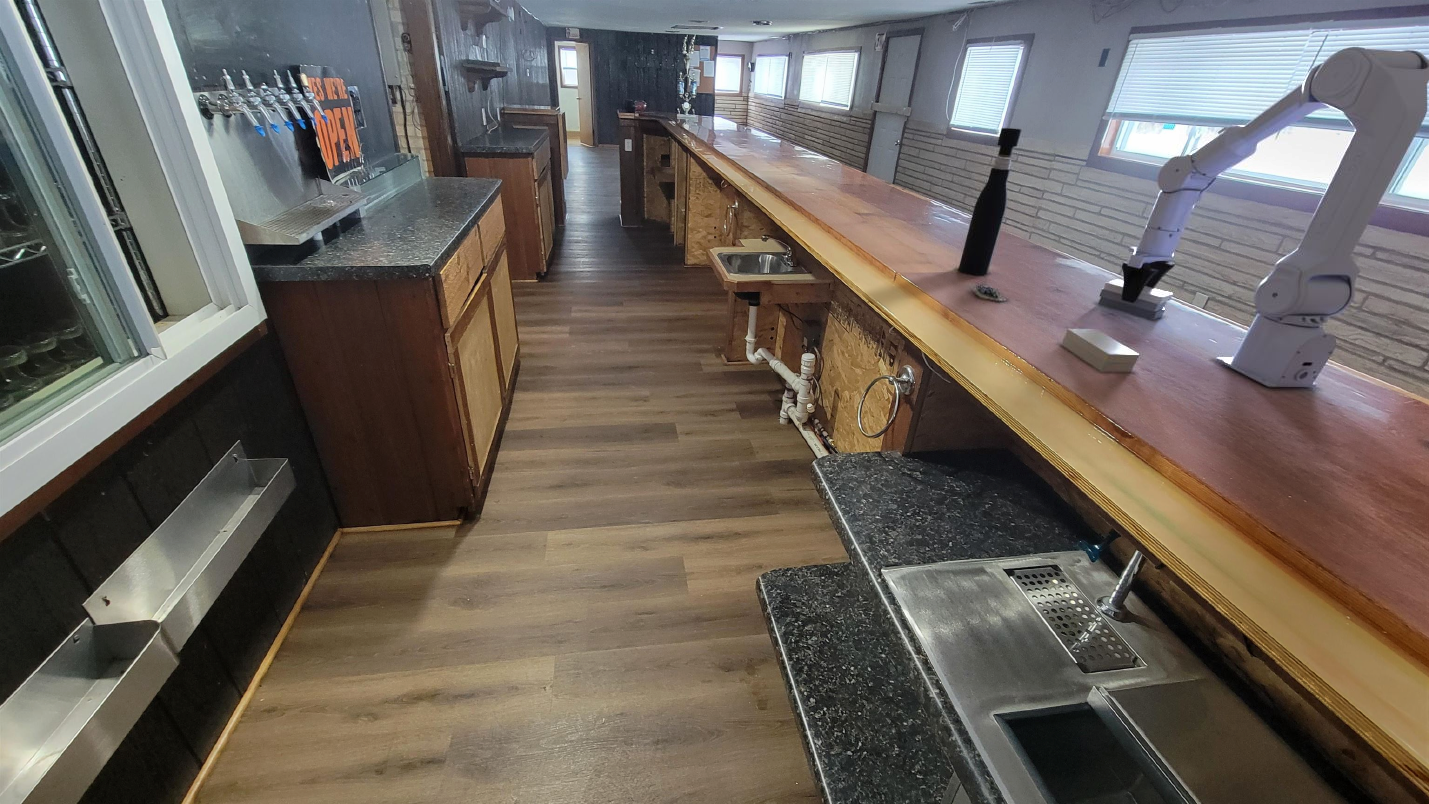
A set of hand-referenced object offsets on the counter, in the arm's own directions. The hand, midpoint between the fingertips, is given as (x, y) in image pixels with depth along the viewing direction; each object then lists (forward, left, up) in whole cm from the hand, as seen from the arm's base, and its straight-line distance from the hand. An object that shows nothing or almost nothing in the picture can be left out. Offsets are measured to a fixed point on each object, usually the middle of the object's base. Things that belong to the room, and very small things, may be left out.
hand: (1134, 298), depth 110 cm
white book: (0, 0, +1) cm, 1 cm away
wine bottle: (+25, +20, -2) cm, 32 cm away
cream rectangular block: (-22, +23, -2) cm, 32 cm away
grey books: (0, 0, -2) cm, 2 cm away
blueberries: (+8, +25, -3) cm, 26 cm away
